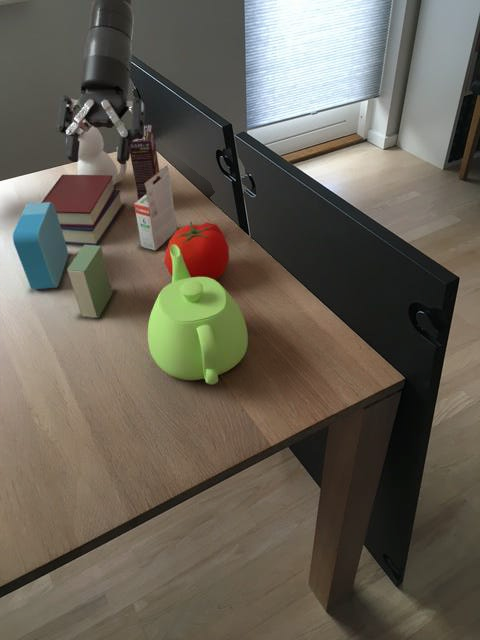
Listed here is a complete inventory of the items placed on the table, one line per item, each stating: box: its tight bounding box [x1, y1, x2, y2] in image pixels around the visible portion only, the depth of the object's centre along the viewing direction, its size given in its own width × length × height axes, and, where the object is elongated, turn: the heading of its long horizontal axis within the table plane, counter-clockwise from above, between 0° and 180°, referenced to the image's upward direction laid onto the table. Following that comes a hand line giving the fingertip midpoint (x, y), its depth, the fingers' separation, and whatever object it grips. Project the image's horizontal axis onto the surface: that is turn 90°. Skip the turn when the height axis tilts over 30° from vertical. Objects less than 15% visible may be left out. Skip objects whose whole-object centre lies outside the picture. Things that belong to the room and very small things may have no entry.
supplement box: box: [130, 124, 161, 201], centre depth 114 cm, size 9×5×16 cm, turn 4°
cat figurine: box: [65, 119, 128, 187], centre depth 122 cm, size 9×12×15 cm
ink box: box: [133, 165, 178, 251], centre depth 103 cm, size 4×8×15 cm, turn 153°
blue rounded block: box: [12, 202, 69, 290], centre depth 97 cm, size 12×4×12 cm, turn 3°
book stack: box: [40, 174, 124, 246], centre depth 112 cm, size 12×16×7 cm
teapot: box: [147, 244, 249, 385], centre depth 80 cm, size 22×15×13 cm
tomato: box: [164, 220, 230, 281], centre depth 95 cm, size 11×13×10 cm
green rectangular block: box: [66, 245, 114, 319], centre depth 90 cm, size 3×7×10 cm, turn 170°
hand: (96, 161), depth 88 cm, fingers open, 8 cm apart
